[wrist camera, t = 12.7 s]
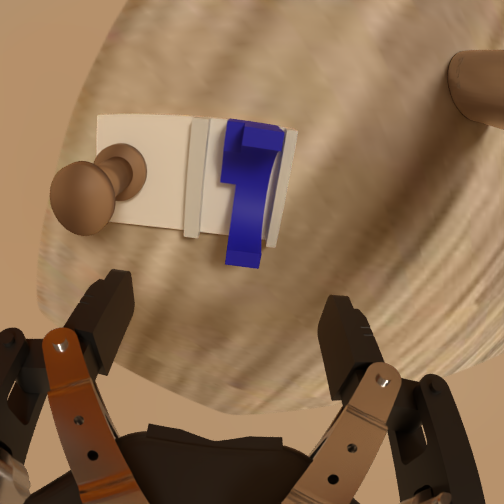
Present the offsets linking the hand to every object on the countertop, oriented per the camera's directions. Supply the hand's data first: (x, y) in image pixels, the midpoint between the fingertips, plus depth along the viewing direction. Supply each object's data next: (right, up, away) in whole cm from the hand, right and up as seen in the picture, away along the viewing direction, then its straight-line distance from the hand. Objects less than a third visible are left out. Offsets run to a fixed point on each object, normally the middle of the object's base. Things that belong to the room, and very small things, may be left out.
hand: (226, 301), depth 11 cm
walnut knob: (-13, +10, +16) cm, 23 cm away
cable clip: (0, +9, +17) cm, 19 cm away
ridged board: (-6, +10, +18) cm, 21 cm away
